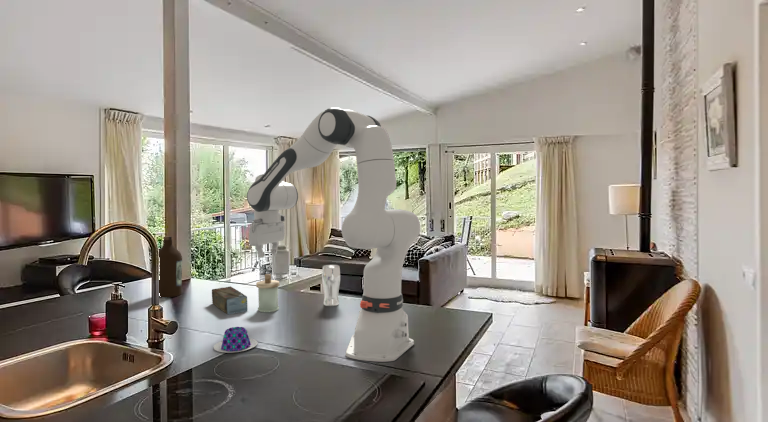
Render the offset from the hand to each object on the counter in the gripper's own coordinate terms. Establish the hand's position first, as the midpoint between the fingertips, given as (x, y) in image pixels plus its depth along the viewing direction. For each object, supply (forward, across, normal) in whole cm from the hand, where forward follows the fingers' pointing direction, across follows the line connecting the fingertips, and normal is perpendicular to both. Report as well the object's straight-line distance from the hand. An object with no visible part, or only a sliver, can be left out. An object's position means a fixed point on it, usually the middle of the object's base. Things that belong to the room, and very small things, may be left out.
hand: (267, 255), depth 164 cm
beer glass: (+21, +13, -20) cm, 31 cm away
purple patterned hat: (+21, -36, -10) cm, 43 cm away
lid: (+11, 0, 0) cm, 11 cm away
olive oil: (+20, +10, +52) cm, 57 cm away
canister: (+20, 0, 0) cm, 20 cm away
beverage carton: (+21, 0, +16) cm, 26 cm away
